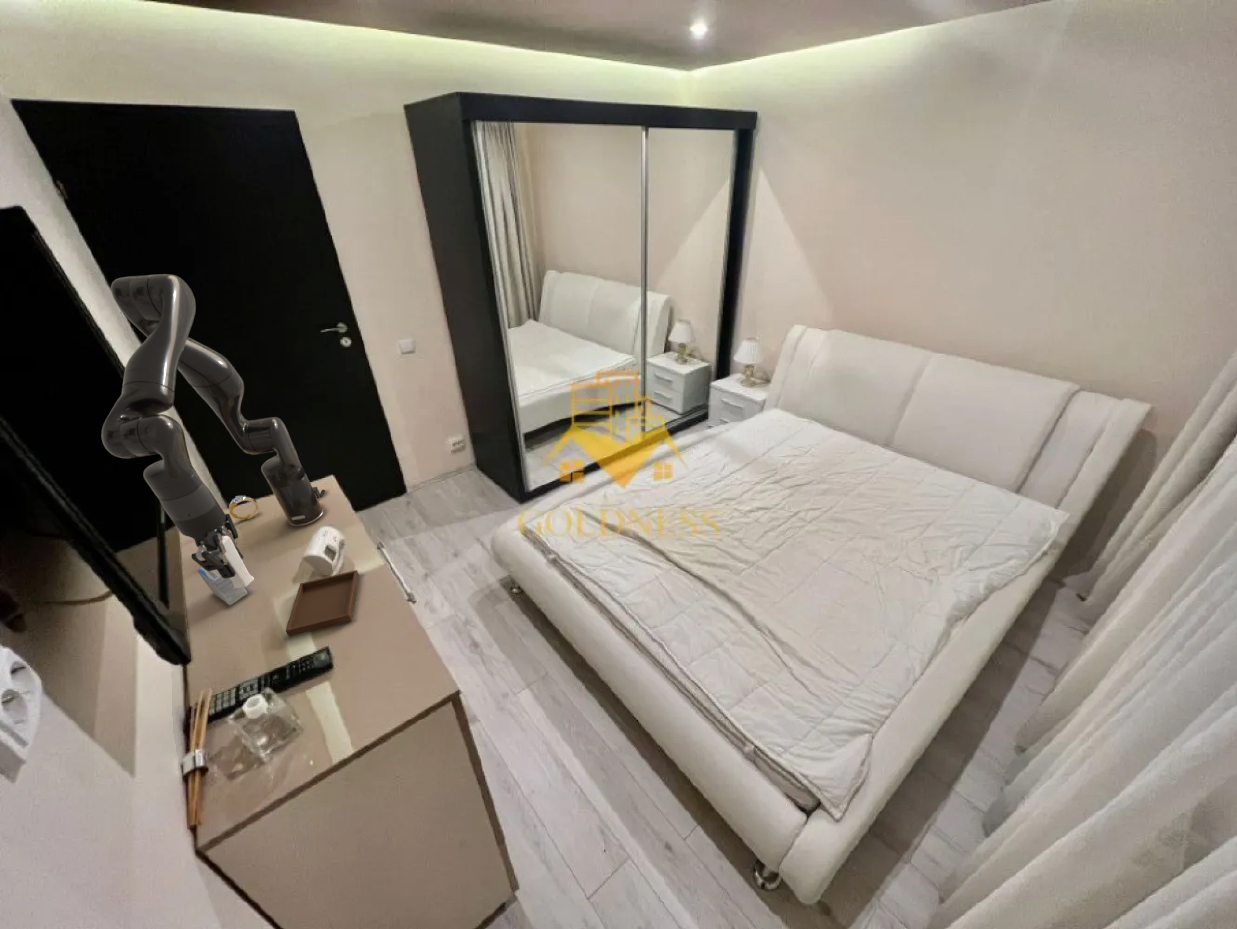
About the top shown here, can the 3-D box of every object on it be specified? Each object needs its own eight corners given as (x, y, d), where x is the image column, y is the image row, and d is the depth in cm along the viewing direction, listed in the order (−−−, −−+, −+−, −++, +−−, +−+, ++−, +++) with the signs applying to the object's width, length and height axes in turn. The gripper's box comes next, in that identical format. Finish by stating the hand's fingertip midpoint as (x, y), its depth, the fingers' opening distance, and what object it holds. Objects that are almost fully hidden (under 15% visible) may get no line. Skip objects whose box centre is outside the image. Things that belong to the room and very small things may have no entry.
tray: (303, 589, 121) (300, 583, 120) (359, 575, 124) (356, 569, 123) (289, 637, 109) (285, 631, 108) (351, 620, 112) (348, 614, 111)
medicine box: (248, 594, 120) (232, 569, 116) (229, 606, 117) (211, 581, 113) (232, 582, 124) (216, 558, 119) (213, 594, 121) (195, 570, 116)
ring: (262, 510, 149) (250, 490, 145) (263, 516, 147) (251, 495, 143) (236, 519, 146) (223, 499, 142) (236, 525, 144) (223, 504, 140)
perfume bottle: (226, 585, 106) (190, 535, 98) (247, 572, 109) (214, 522, 101) (238, 592, 104) (202, 542, 96) (258, 579, 107) (226, 528, 99)
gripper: (200, 525, 90) (243, 587, 100) (226, 483, 102) (262, 542, 111) (153, 534, 89) (201, 597, 98) (185, 491, 100) (225, 550, 109)
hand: (234, 567), depth 105 cm, fingers closed on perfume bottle, 4 cm apart
